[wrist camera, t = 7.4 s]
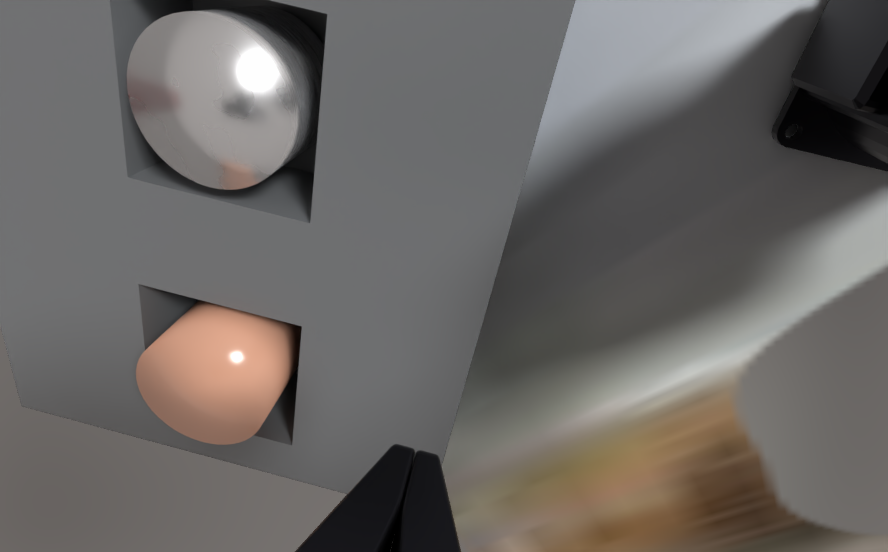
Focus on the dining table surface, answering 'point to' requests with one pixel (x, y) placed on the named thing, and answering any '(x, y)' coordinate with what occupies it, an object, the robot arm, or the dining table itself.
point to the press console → (272, 220)
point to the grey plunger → (227, 92)
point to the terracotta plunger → (218, 372)
